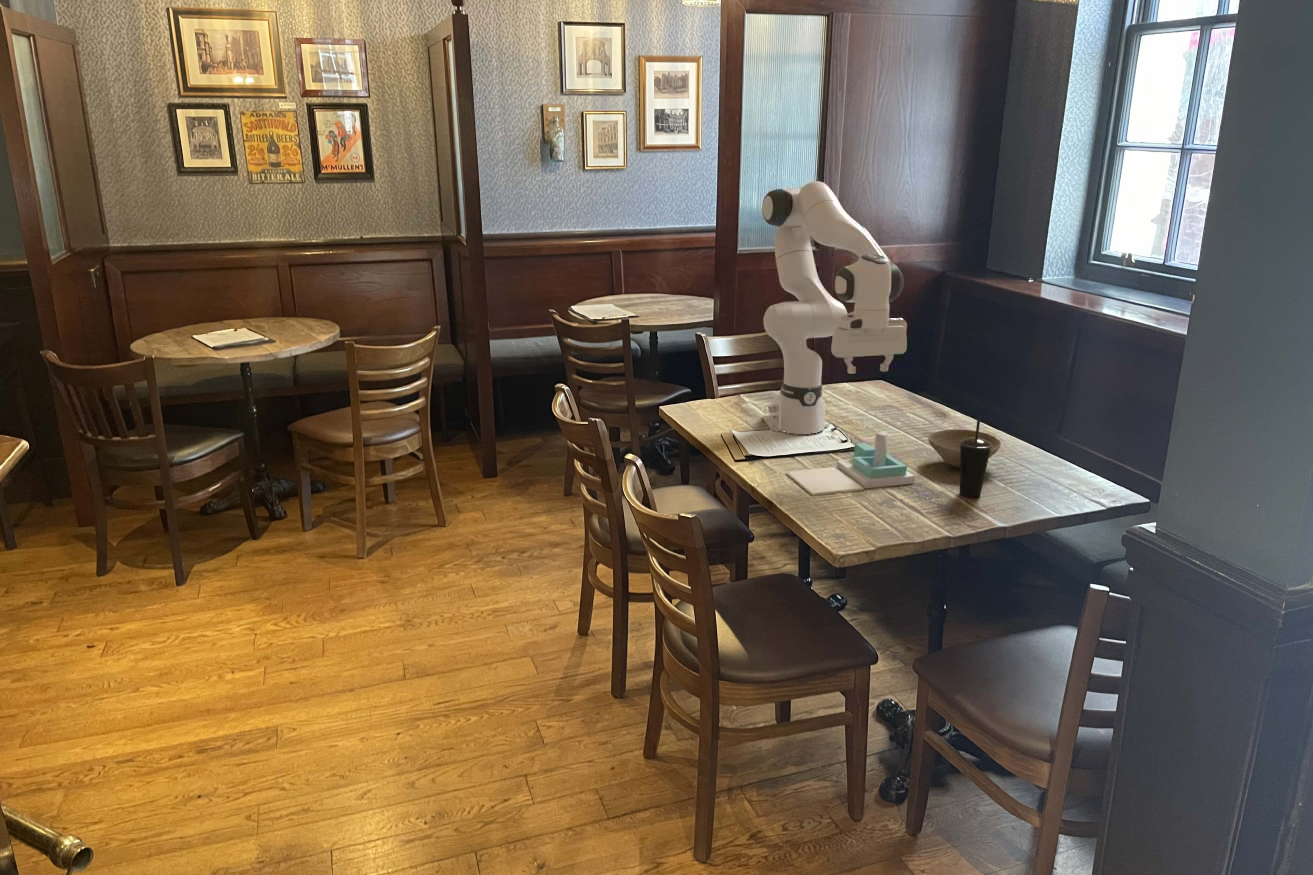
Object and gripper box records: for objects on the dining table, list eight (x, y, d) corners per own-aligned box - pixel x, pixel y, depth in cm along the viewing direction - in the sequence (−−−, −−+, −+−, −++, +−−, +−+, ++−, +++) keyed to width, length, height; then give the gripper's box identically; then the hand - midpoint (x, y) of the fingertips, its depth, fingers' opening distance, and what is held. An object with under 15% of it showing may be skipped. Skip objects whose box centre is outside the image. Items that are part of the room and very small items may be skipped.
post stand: (836, 467, 247) (839, 424, 243) (883, 463, 251) (886, 421, 247) (865, 488, 232) (868, 443, 229) (914, 483, 236) (918, 438, 232)
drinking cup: (985, 502, 224) (995, 424, 218) (952, 498, 226) (961, 420, 220) (986, 491, 231) (995, 415, 224) (954, 487, 233) (963, 412, 227)
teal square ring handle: (842, 458, 248) (843, 444, 247) (875, 455, 251) (876, 441, 249) (870, 478, 233) (872, 464, 232) (906, 475, 236) (907, 460, 235)
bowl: (922, 473, 243) (924, 444, 241) (929, 452, 260) (932, 425, 257) (996, 482, 237) (999, 453, 235) (998, 460, 253) (1002, 432, 251)
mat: (786, 473, 242) (786, 471, 242) (834, 469, 246) (834, 467, 246) (812, 495, 228) (812, 493, 227) (863, 490, 231) (863, 487, 231)
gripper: (900, 315, 242) (897, 367, 245) (829, 319, 236) (827, 372, 240) (913, 319, 236) (909, 372, 240) (841, 323, 230) (838, 377, 234)
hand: (867, 372), depth 240 cm, fingers open, 8 cm apart
